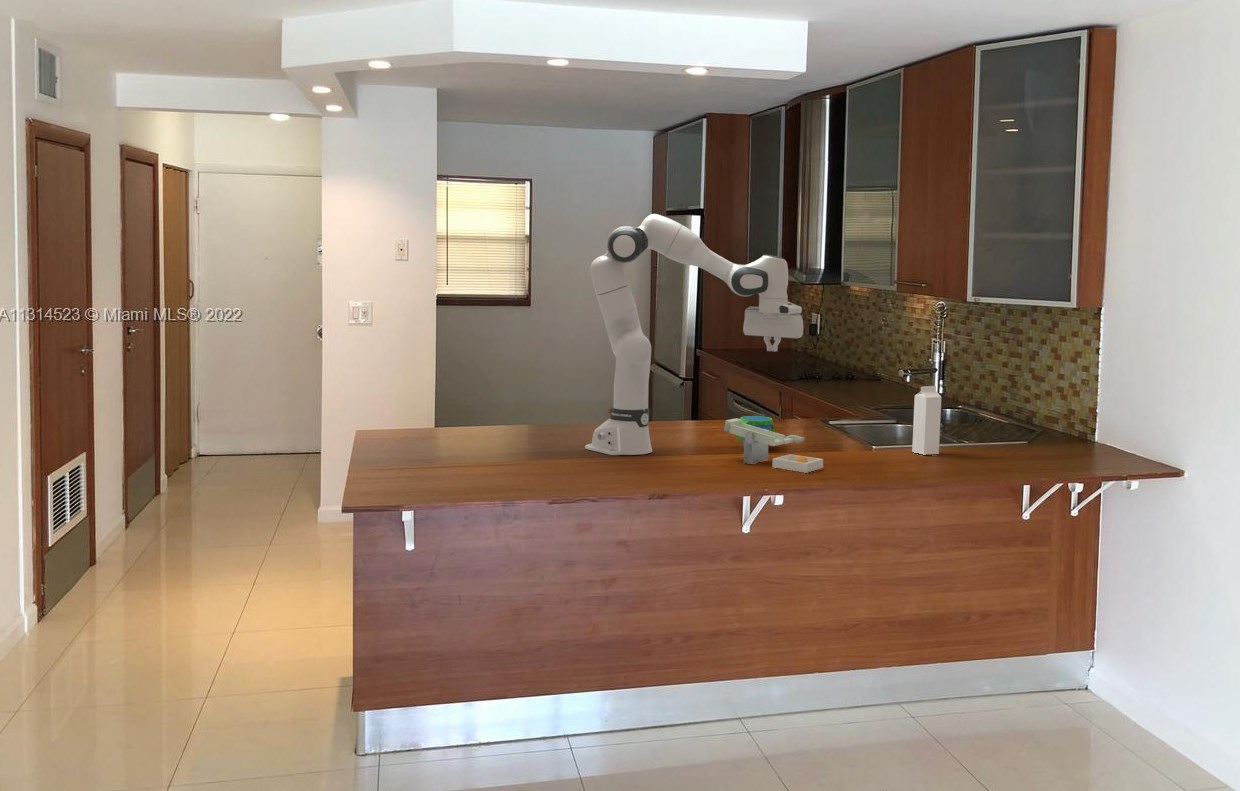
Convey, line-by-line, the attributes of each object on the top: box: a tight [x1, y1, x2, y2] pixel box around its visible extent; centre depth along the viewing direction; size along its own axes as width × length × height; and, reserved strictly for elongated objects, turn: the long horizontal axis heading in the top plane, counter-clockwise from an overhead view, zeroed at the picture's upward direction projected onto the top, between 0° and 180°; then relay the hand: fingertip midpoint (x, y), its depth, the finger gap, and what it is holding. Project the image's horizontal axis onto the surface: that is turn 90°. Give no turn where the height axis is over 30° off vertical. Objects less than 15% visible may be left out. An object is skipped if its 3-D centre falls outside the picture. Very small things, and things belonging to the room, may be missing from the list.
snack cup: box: [736, 415, 775, 445], centre depth 360 cm, size 16×10×10 cm
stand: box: [743, 429, 769, 464], centre depth 337 cm, size 3×9×10 cm, turn 140°
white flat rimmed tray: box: [772, 453, 824, 474], centre depth 328 cm, size 12×10×3 cm
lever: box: [723, 418, 805, 447], centre depth 340 cm, size 20×16×4 cm
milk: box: [911, 385, 942, 455], centre depth 352 cm, size 6×6×22 cm
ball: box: [796, 455, 808, 463], centre depth 327 cm, size 4×4×4 cm
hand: (772, 351), depth 346 cm, fingers closed
